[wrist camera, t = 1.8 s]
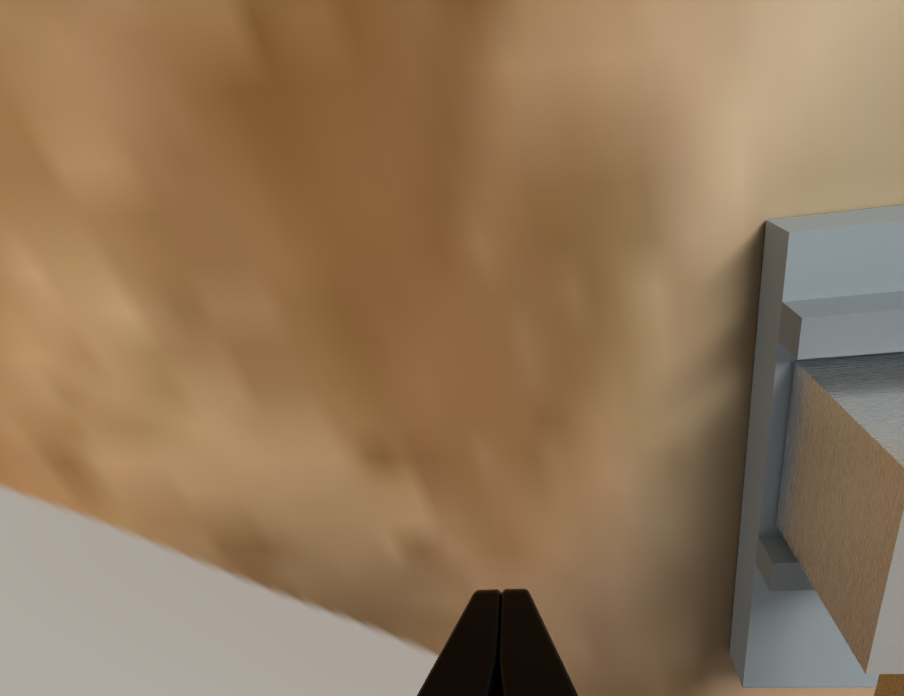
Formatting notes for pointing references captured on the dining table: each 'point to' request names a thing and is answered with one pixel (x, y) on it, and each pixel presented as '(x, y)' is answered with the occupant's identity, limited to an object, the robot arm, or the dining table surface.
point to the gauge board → (777, 348)
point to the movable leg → (851, 501)
